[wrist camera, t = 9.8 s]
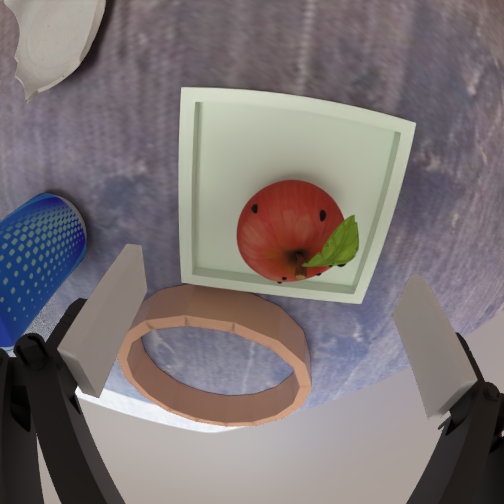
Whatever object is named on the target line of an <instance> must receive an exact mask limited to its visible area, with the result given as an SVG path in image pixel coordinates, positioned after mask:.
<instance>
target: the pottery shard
mask: <svg viewBox="0 0 504 504" xmlns="http://www.w3.org/2000/svg"><path fill="white" fill-rule="evenodd" d="M4 3H5V4H6V5H7V6H8V7H9V8H10V9H11V10H12V12H13V13H14V15H15V16H16V19H17V21H18V24H19V27H20V38H19V44H18V48H17V51H16V54H15V57H14V58H15V59H16V61H17V62H18V65H17V70H16V74H15V78H17V79H18V80H19V81H20V82H21V83H22V85H23V87H24V90H25V99H26V101H27V103H28V102H29V101H30V100H31V99H32V98H33V97H34V96H35V95H37V94H38V93H39V92H42V91H44V90H47V89H49V88H51V87H52V86H54V85H56V84H58V83H59V82H61V81H62V80H64V79H65V78H66V77H68V76H69V75H70V74H71V73H72V72H73V71H74V70H75V69H76V68H77V67H78V66H79V65H80V63H81V62H82V61H83V59H84V58H85V56H86V54H87V53H88V51H89V49H90V47H91V44H92V42H93V41H94V39H95V36H96V34H97V31H98V29H99V26H100V23H101V20H102V17H103V14H104V10H105V4H106V0H4Z"/></svg>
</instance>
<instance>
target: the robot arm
mask: <svg viewBox="0 0 504 504" xmlns="http://www.w3.org/2000/svg"><path fill="white" fill-rule="evenodd" d="M146 293H147V284H146V277H145V269H144V261H143V253H142V245H135V244H126V246H125V247H124V248H123V250H122V251H121V252H120V254H119V255H118V257H117V258H116V259H115V261H114V262H113V263H112V265H111V266H110V268H109V269H108V270H107V272H106V273H105V275H104V276H103V278H102V279H101V281H100V282H99V283H98V285H97V286H96V288H95V289H94V291H93V292H92V294H91V295H90V297H89V298H88V299H83V298H78V299H77V300H76V301H75V302H73V303H72V304H71V305H70V306H69V307H68V309H67V310H66V312H65V313H64V315H63V316H62V318H61V319H60V322H58V324H57V325H56V327H55V328H54V330H53V332H52V333H51V335H50V336H49V338H48V340H47V341H46V343H45V341H44V339H43V337H42V336H40V335H39V334H37V333H28V334H25V335H23V336H21V337H20V338H19V339H18V340H17V341H16V343H15V345H14V350H13V352H14V354H15V355H16V357H9V355H8V353H7V352H6V351H5V350H4V349H2V348H0V504H44V499H43V494H42V488H41V480H40V472H39V464H38V452H37V437H38V440H39V444H40V447H41V450H42V453H43V457H44V460H45V462H46V466H47V468H48V471H49V474H50V477H51V479H52V482H53V484H54V487H55V490H56V492H57V494H58V497H59V499H60V501H61V503H62V504H125V502H124V500H123V498H122V497H121V495H120V493H119V491H118V490H117V488H116V486H115V484H114V482H113V480H112V478H111V476H110V474H109V472H108V470H107V468H106V466H105V464H104V462H103V460H102V458H101V456H100V454H99V451H98V449H97V447H96V445H95V442H94V440H93V438H92V435H91V433H90V430H89V428H88V425H87V423H86V421H85V418H84V415H83V412H82V410H81V407H80V404H79V401H78V398H77V396H76V394H75V390H76V388H77V386H79V388H80V389H81V391H82V393H85V394H88V395H91V396H94V397H97V398H99V397H100V395H101V392H102V390H103V387H104V385H105V383H106V380H107V378H108V375H109V373H110V371H111V368H112V366H113V364H114V361H115V359H116V357H117V355H118V352H119V350H120V348H121V346H122V343H123V341H124V339H125V337H126V335H127V333H128V330H129V328H130V326H131V324H132V322H133V320H134V318H135V316H136V313H137V311H138V309H139V307H140V305H141V303H142V301H143V299H144V297H145V295H146ZM392 316H393V319H394V321H395V324H396V326H397V329H398V331H399V334H400V337H401V339H402V342H403V345H404V347H405V350H406V353H407V356H408V358H409V361H410V364H411V367H412V370H413V373H414V376H415V378H416V382H417V385H418V388H419V391H420V394H421V398H422V401H423V404H424V407H425V411H426V414H427V418H428V420H430V419H435V418H441V417H442V416H443V415H444V414H445V413H446V412H447V411H450V414H451V416H450V417H449V418H447V419H446V420H445V421H444V422H443V423H442V424H441V425H440V426H439V427H438V429H441V428H442V427H443V426H444V425H445V426H444V429H443V430H442V433H441V436H440V438H439V441H438V443H437V445H436V448H435V450H434V452H433V454H432V456H431V458H430V460H429V463H428V465H427V467H426V469H425V471H424V473H423V475H422V476H421V479H420V480H419V482H418V484H417V486H416V488H415V489H414V491H413V493H412V495H411V496H410V498H409V500H408V501H407V503H406V504H504V436H503V437H502V434H501V433H502V431H504V394H503V393H500V392H499V390H498V388H497V387H496V386H495V385H494V384H493V383H490V382H485V381H484V378H483V376H482V374H481V372H480V370H479V367H478V365H477V363H476V361H475V359H474V357H473V355H472V353H471V351H469V347H468V345H467V343H466V341H465V340H464V338H463V337H462V336H461V335H460V334H459V333H455V331H454V329H453V327H452V326H451V324H450V322H449V320H448V318H447V316H446V314H445V313H444V311H443V309H442V307H441V306H440V304H439V302H438V300H437V299H436V297H435V295H434V293H433V292H432V290H431V288H430V287H429V285H428V283H427V282H426V280H425V278H424V277H423V276H421V275H410V278H409V280H408V282H407V284H406V287H405V289H404V291H403V293H402V295H401V298H400V300H399V302H398V304H397V306H396V308H395V310H394V312H393V314H392ZM36 433H37V435H36Z"/></svg>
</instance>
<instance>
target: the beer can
mask: <svg viewBox="0 0 504 504" xmlns="http://www.w3.org/2000/svg"><path fill="white" fill-rule="evenodd" d="M86 238H87V233H86V227H85V223H84V221H83V218H82V216H81V214H80V213H79V211H78V210H77V209H76V207H75V206H74V205H73V204H72V203H71V202H70V201H68V200H67V199H65V198H63V197H61V196H57V195H53V194H49V193H42V194H39V195H36V196H35V197H33V198H32V199H30V200H29V201H28V202H26V203H25V204H23V205H22V206H20V207H19V208H18V209H16V210H15V211H13V212H12V213H11V214H9V215H8V216H7V217H5V218H4V219H3V220H1V221H0V348H2V349H4V350H5V351H6V352H7V353H9V352H11V351H12V350H13V348H14V345H15V343H16V341H17V340H18V339H19V338H20V337H21V336H22V335H23V334H24V333H25V331H26V330H27V328H28V327H29V326H30V324H31V323H32V322H33V320H34V319H35V318H36V316H37V315H38V314H39V312H40V311H41V310H42V308H43V307H44V306H45V304H46V303H47V302H48V301H49V299H50V298H51V297H52V296H53V294H54V293H55V292H56V291H57V289H58V288H59V287H60V286H61V284H62V283H63V282H64V281H65V280H66V278H67V277H68V276H69V275H70V274H71V273H72V271H73V270H74V269H75V268H76V267H77V266H78V264H79V263H80V262H81V261H82V259H83V258H84V255H85V252H86Z"/></svg>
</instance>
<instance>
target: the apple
mask: <svg viewBox="0 0 504 504" xmlns="http://www.w3.org/2000/svg"><path fill="white" fill-rule="evenodd" d="M237 245H238V249H239V252H240V254H241V256H242V258H243V260H244V261H245V263H246V264H247V265H248V266H249V267H250V268H251V269H252V270H254V271H255V272H256V273H258V274H259V275H261V276H263V277H265V278H267V279H269V280H272V281H277V283H278V284H281V283H282V282H294V281H300V280H304V279H308V278H311V277H314V276H320V275H321V274H322V273H323V272H325V271H327V270H329V269H330V268H332V267H333V266H338V267H343V266H345V265H346V263H348V262H350V261H351V260H352V259H353V258H354V257H355V256H356V255H355V254H356V253H357V251H358V250H359V233H358V224H357V222H355V215H352V216H350V217H348V218H347V219H344V217H343V214H342V212H341V210H340V208H339V207H338V205H337V203H336V202H335V201H334V199H333V198H332V197H331V196H330V195H329V194H328V193H326V192H325V191H324V190H323V189H321V188H319V187H318V186H316V185H314V184H311V183H309V182H305V181H301V180H284V181H279V182H276V183H273V184H271V185H269V186H267V187H265V188H263V189H261V190H260V191H259V192H257V193H256V194H255V195H254V196H252V198H251V199H250V200H249V201H248V202H247V203H246V205H245V206H244V208H243V210H242V212H241V214H240V217H239V220H238V225H237Z"/></svg>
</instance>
